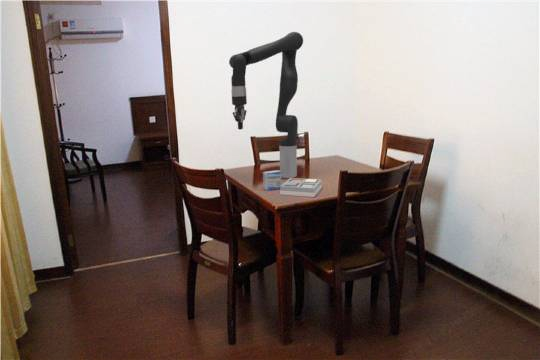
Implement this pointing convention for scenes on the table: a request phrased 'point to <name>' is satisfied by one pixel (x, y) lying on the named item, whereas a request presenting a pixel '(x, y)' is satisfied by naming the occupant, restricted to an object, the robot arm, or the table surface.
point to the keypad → (301, 188)
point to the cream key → (311, 181)
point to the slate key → (291, 184)
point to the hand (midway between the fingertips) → (240, 129)
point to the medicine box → (272, 180)
